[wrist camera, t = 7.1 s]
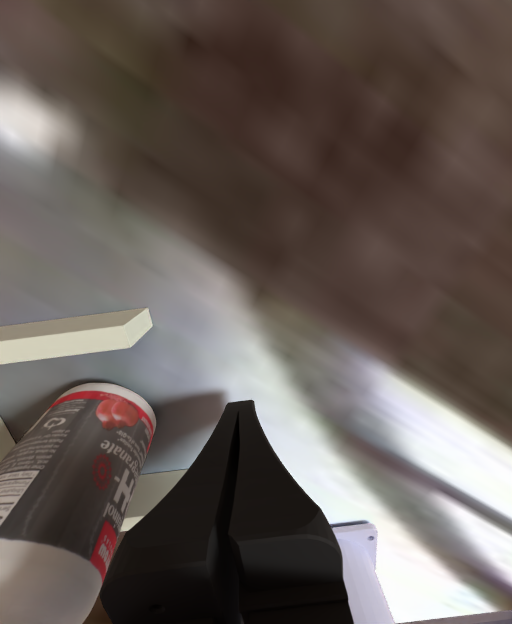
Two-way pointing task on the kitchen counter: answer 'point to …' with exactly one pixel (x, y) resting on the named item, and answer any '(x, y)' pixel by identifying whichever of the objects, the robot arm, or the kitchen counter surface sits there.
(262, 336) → the kitchen counter surface
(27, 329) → the u-shaped bracket
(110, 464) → the pill bottle
